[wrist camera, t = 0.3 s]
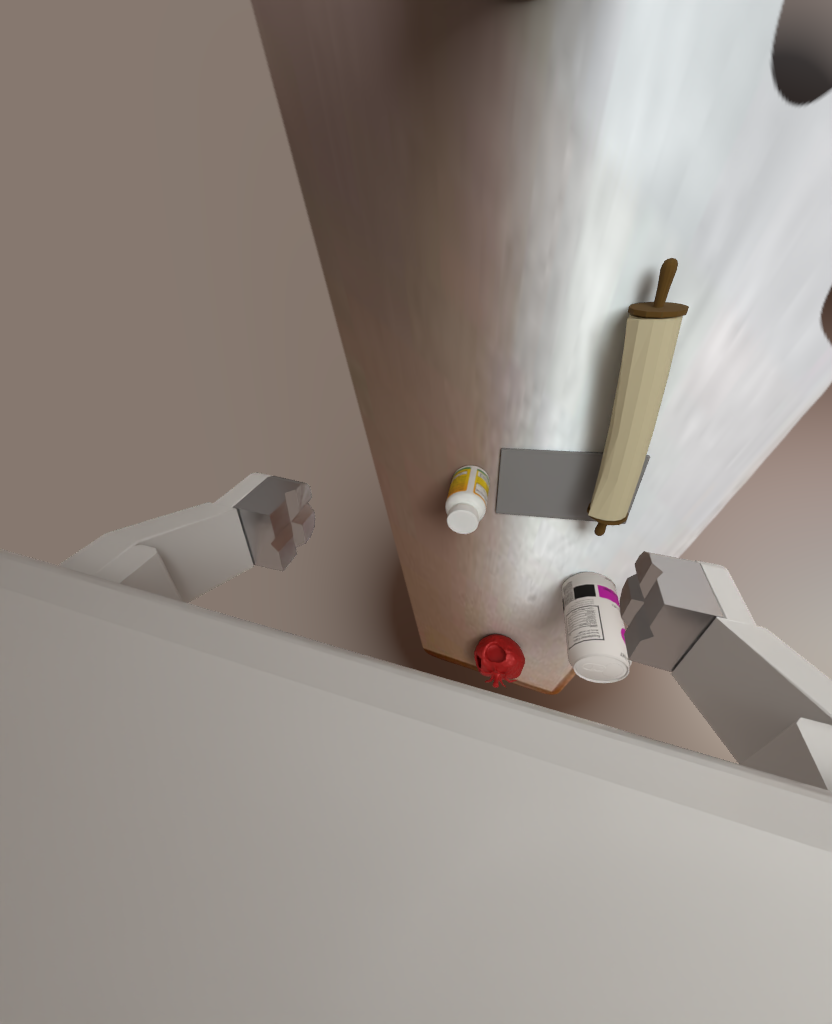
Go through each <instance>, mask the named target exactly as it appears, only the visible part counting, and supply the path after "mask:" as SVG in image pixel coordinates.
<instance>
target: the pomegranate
mask: <svg viewBox="0 0 832 1024" xmlns="http://www.w3.org/2000/svg"><path fill="white" fill-rule="evenodd" d="M474 654H475V661H476V666H477V668H478V670H479V672H480V673H481V674H482V675H484V676H489V677H491V678H490V680H487V681H485V682H491V681H492V680H493V679H494V683H493V686H494V687H496V688H497V687H498V686H499V685H498V681H500V682H501V683H502V680H507V681H508V682H513V681H516V680H511V681H509V680H508V679H513V678H517V677H519V675H520V674H521V671H522V669H523V667H524V664H525V658H524V655H523V652H522V650H521V649H520V647H519V646H518V644H517V643H516V642H515V641H513V640H512V639H510V638H509V637H506V636H503V635H498V634H493V635H489V636H487V637H485V638H483V639H482V640H481V641H480V642H479V644H478V645H477V647H476V649H475V652H474ZM502 685H503V683H502ZM503 686H505V685H503ZM505 687H506V686H505Z"/></svg>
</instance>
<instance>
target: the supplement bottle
mask: <svg viewBox="0 0 832 1024" xmlns="http://www.w3.org/2000/svg"><path fill="white" fill-rule="evenodd" d="M488 490H489V477H488V475H487V473H486V472H485V471H484V470H483V469H481V468H479V467H477V466H464V467H462V468H460V469H458V470H457V471H456V472H455V473H454V475H453V478H452V482H451V486H450V490H449V493H448V497H447V500H446V505H445V508H446V512H447V515H448V517H447V523H448V526H449V527H450V528H451V529H452V530H453V531H455V532H457V533H460V534H468V533H471V532H473V531H474V530H475V529H476V528H477V526H478V522H479V521H480V520H481V519H482V518H483V516H484V515H485V511H486V505H487V497H488Z"/></svg>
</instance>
